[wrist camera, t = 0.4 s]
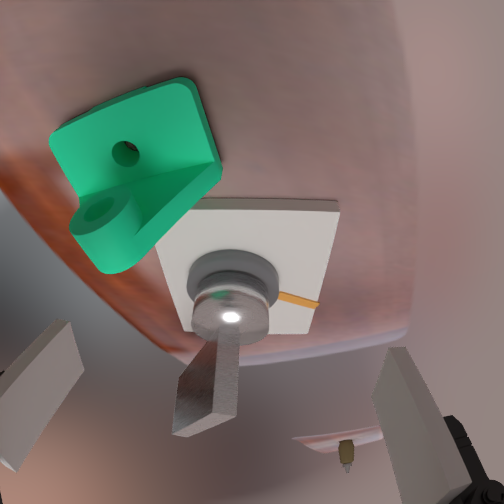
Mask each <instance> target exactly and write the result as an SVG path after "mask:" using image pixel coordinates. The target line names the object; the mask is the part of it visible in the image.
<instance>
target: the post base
mask: <svg viewBox="0 0 504 504" xmlns="http://www.w3.org/2000/svg"><path fill="white" fill-rule="evenodd" d="M339 216H340V209H339V206H338V203H337V201H327V200H299V199H250V198H201V199H200V200H199V201H198V202H197V203H196V204H195V205H194V206H193V207H192V208H191V209H190V210H189V211H188V212H187V213H186V214H185V215H184V216H183V217H182V218H181V219H180V220H179V221H178V222H177V223H176V224H175V225H174V226H173V227H172V228H171V229H170V230H169V231H168V232H167V233H166V234H165V235H164V236H163V237H162V238H161V239H160V240H159V241H158V242H157V243H156V244H155V246H156V250H157V253H158V256H159V259H160V262H161V266H162V269H163V272H164V275H165V278H166V281H167V284H168V287H169V290H170V293H171V296H172V298H173V301H174V304H175V307H176V310H177V313H178V315H179V318H180V321H181V324H182V326H183V329H184V331H189V332H194V331H193V329H192V327H191V320H192V314H193V307H194V301H195V295H196V289H197V286H198V284H199V283H200V282H201V281H202V280H203V279H204V278H206V277H208V276H210V275H213V274H216V273H222V272H236V273H243V274H246V275H249V276H252V277H254V278H256V279H258V280H259V281H261V282H262V283H263V284H264V285H265V286H266V288H267V290H268V293H269V332H268V334H308V331H309V328H310V324H311V321H312V318H313V314H314V311H315V308H316V307H317V306H318V305H319V304H320V302H317V300H318V297H319V293H320V290H321V286H322V283H323V279H324V275H325V272H326V268H327V264H328V260H329V257H330V253H331V249H332V245H333V241H334V237H335V233H336V228H337V224H338V220H339Z"/></svg>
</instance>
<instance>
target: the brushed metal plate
mask: <svg viewBox="0 0 504 504" xmlns="http://www.w3.org/2000/svg"><path fill="white" fill-rule="evenodd" d="M191 327H192V329H193V331H194V332H195V333H196V334H197V335H198V336H200V337H201V338H203V339H205V340H207V342H206V344H205V345H204V346H203V348H202V349H201V350H200V351H199V353H198V354H197V355H196V356H195V358H194V359H193V360H192V361H191V363H190V364H189V365H188V366H187V368H186V369H185V370H184V371H183V373H182V374H181V375H180V376H179V379H178V386H177V394H176V402H175V410H174V418H173V427H172V435H178V436H183V437H189V436H192V435H194V434H197V433H199V432H202V431H204V430H206V429H209V428H211V427H213V426H216V425H218V424H220V423H223V422H225V421H227V420H229V419H231V418H234V417H236V411H237V387H238V367H239V346H242V345H249V344H253V343H255V342H258V341H260V340H262V339H263V338H264V337H266V335H267V334H268V332H269V293H268V290H267V288H266V286H265V285H264V284H263V283H262V282H261V281H259V280H258V279H256V278H254V277H252V276H249V275H246V274H243V273H236V272H222V273H216V274H213V275H210V276H208V277H206V278H204V279H203V280H202V281H201V282H200V283H199V284H198V286H197V289H196V295H195V301H194V307H193V314H192V320H191Z"/></svg>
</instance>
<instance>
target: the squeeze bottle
mask: <svg viewBox="0 0 504 504" xmlns="http://www.w3.org/2000/svg"><path fill="white" fill-rule="evenodd" d="M338 450H339V455H340V462H341V463H342V464H343V467H345V470H346V473H349V469H350V466H352V463H351V462H353V460H354V444H353V442H352V440H344V441H341V442H340V444H339V448H338Z"/></svg>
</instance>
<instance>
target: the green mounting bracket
mask: <svg viewBox="0 0 504 504" xmlns="http://www.w3.org/2000/svg"><path fill="white" fill-rule="evenodd" d="M124 141H128V142H131V143H132V144H134V145H135V146H136V147H137V149H138V151H133V150H131V149H129V148H128V147H127V146H126V144H125V142H124ZM49 146H50V148H51V150H52V152H53V154H54V156H55V157H56V159H57V161H58V163H59V164H60V166H61V168H62V170H63V171H64V173H65V175H66V177H67V178H68V180H69V182H70V183H71V185H72V187H73V188H74V190H75V192H76V193H77V195H78V196H79V203H80V208H79V209H78V210H77V211H76V213H75V214H74V215H73V217H72V219H71V221H70V224H69V230H70V232H71V234H72V235H73V236H74V238H75V239H76V241H77V242H78V243H79V245H80V246H81V247H82V249H83V250H84V251H85V253H86V254H87V255H88V257H89V258H90V259H91V260H92V262H93V263H94V264H95V266H96V267H97V268H98V269H99V271H101V272H102V273H105V274H115V273H119V272H122V271H124V270H127V269H128V268H130V267H132V266H133V265H135V264H136V263H137V262H139V261H140V260H141V259H142V258H143V257H144V256H145V255H146V254H147V252H148V251H149V250H150V249H151V248H152V247H153V246H154V245H155V244H156V243H157V242H158V241H159V240H160V239H161V238H162V237H163V236H164V235H165V234H166V233H167V232H168V231H169V230H170V229H171V228H172V227H173V226H174V225H175V224H176V223H177V222H178V221H179V220H180V219H181V218H182V217H183V216H184V215H185V214H186V213H187V212H188V211H189V210H190V209H191V208H192V207H193V206H194V205H195V204H196V203H197V202H198V201H199V200H200V199H201V198H202V197H203V196H204V195H205V194H206V193H207V192H208V191H209V190H210V189H211V188H212V187H213V186H214V185H215V184H217V183H218V182H219V181H220V180H221V176H222V171H223V167H222V164H221V161H220V158H219V155H218V152H217V149H216V146H215V143H214V140H213V137H212V134H211V131H210V127H209V124H208V121H207V118H206V115H205V112H204V109H203V106H202V103H201V100H200V97H199V94H198V91H197V88H196V85H195V84H194V83H193V82H192V81H191V80H190V79H188V78H184V77H178V78H174V79H171V80H168V81H165V82H162V83H159V84H156V85H153V86H150V87H146V86H144V87H141V88H139V89H136V90H133V91H131V92H128V93H126V94H123V95H121V96H118V97H116V98H113V99H111V100H109V101H106V102H104V103H102V104H99V105H97V106H95V107H93V108H92V109H91V110H89V111H88V112H86V113H84V114H82V115H80V116H78V117H76V118H74V119H72V120H70V121H68V122H66V123H64V124H62V125H61V126H60V127H59V128H58V129H56V130H55V131H54V132H53V133H52V134H51V135H50V137H49Z"/></svg>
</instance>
